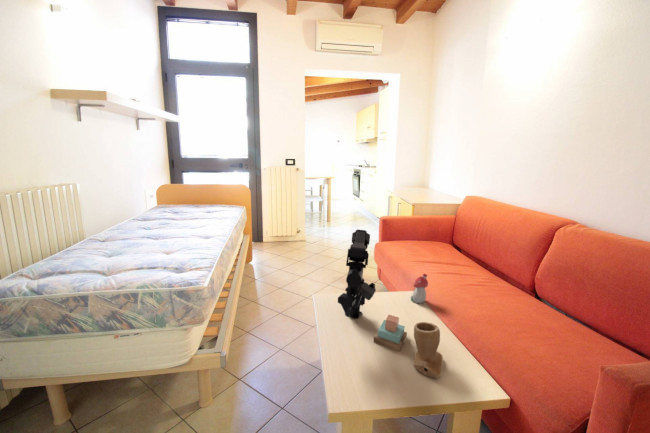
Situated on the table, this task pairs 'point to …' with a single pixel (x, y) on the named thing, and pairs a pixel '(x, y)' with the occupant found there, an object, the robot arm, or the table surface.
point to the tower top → (391, 333)
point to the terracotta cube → (391, 323)
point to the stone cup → (427, 349)
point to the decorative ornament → (420, 289)
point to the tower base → (390, 342)
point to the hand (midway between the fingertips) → (352, 311)
